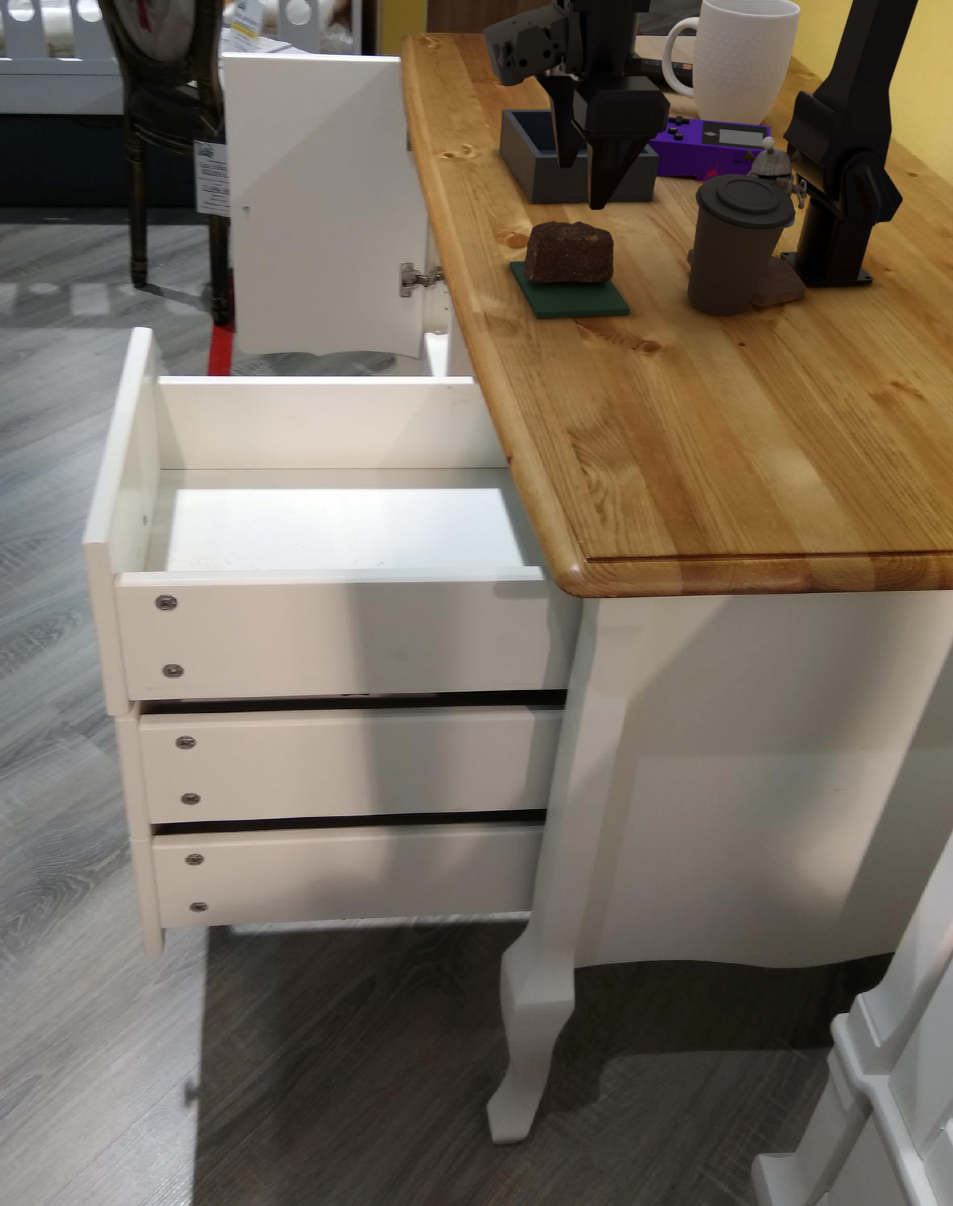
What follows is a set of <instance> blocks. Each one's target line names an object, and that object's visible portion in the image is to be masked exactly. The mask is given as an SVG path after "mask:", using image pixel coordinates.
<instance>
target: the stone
mask: <svg viewBox="0 0 953 1206" xmlns="http://www.w3.org/2000/svg"><path fill="white" fill-rule="evenodd" d="M614 246H615V242H614V239H613V236H612V234H611V232H610V231H609V230H607V229H602V228H599V227H594V226H593V225H591V224H589V223H585V222H583V221H581V220H577V221H575V222H573V223H571V222H565V221H563V222H562V221H561V222H560V221H559V222H558V221H555V220H553V221H552V220H551V221H546V222H543V223H542V222H541V223H539V224H536V225H534V226H532V228H531V231H530V234H529V237H528V240H527V243H526V253H525V258H524V260H523V261H524V277H525V278H526V279H528V281H533V282H540V283H552V282H555V281H578V282H596V283H606V282H607V281H609V280H611V281H612V279H613V276H614V270H615V269H614Z"/></svg>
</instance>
